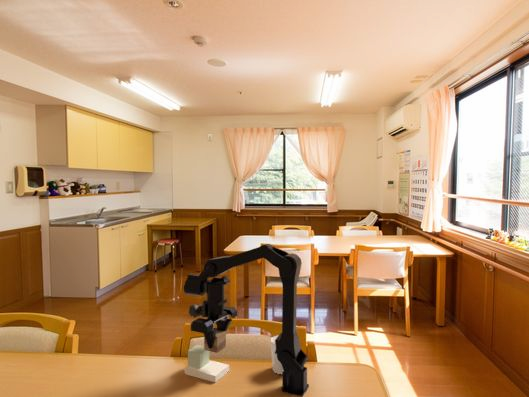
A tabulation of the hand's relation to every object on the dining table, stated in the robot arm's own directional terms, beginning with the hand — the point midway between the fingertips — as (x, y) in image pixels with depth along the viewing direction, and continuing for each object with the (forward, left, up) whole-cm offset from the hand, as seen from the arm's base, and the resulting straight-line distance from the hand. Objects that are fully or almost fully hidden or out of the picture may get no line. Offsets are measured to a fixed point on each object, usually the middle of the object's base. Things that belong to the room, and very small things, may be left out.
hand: (215, 345), depth 106 cm
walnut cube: (0, 0, -1) cm, 1 cm away
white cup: (-18, -12, -10) cm, 24 cm away
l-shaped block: (+3, 0, -9) cm, 10 cm away
